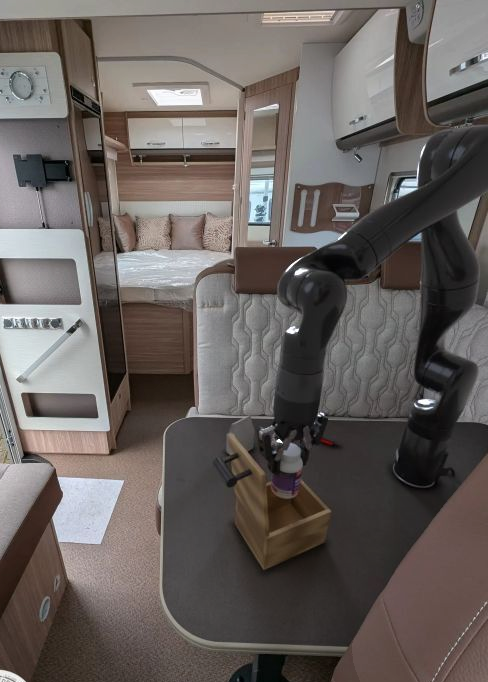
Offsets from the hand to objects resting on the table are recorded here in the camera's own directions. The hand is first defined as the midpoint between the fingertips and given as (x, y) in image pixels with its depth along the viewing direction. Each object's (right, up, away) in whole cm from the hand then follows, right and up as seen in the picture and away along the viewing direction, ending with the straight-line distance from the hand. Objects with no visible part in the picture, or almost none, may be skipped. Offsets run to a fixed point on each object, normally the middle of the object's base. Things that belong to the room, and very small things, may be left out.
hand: (287, 467), depth 68 cm
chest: (0, -16, +8) cm, 18 cm away
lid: (-7, -2, -3) cm, 8 cm away
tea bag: (-7, -4, +32) cm, 33 cm away
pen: (+13, -1, +38) cm, 40 cm away
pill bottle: (0, -5, +3) cm, 6 cm away
